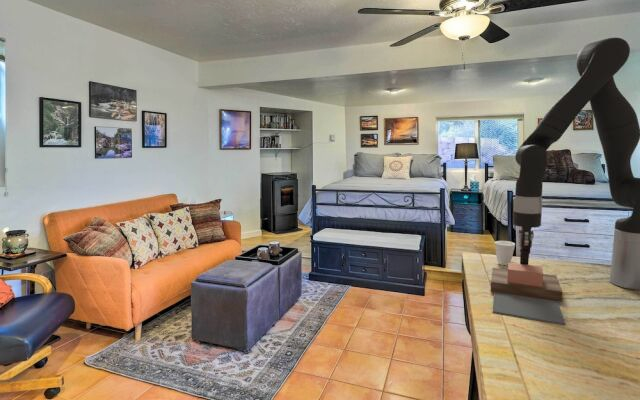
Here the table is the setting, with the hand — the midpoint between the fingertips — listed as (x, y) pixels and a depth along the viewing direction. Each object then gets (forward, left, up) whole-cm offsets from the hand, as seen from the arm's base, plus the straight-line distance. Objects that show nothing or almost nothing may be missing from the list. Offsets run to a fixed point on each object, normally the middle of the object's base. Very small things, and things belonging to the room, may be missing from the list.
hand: (524, 264), depth 111 cm
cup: (-21, -5, -7) cm, 23 cm away
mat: (+18, 0, -7) cm, 19 cm away
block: (+5, 0, -4) cm, 6 cm away
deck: (+3, 0, -7) cm, 7 cm away
